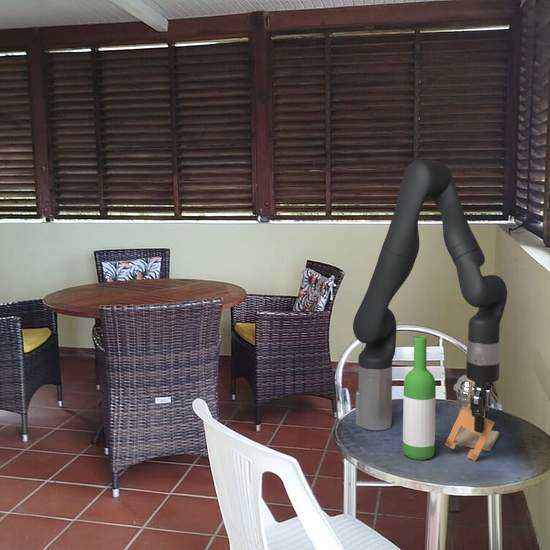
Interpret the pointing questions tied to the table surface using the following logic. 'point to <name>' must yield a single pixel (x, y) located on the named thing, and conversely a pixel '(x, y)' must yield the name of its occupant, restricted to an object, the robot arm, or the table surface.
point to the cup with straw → (463, 393)
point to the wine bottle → (419, 406)
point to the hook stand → (475, 435)
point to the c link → (468, 423)
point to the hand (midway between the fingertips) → (480, 428)
